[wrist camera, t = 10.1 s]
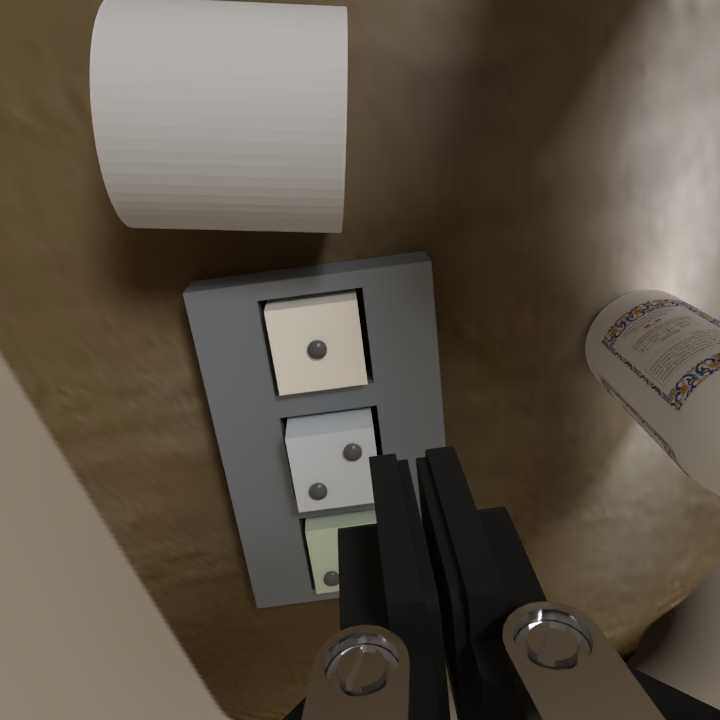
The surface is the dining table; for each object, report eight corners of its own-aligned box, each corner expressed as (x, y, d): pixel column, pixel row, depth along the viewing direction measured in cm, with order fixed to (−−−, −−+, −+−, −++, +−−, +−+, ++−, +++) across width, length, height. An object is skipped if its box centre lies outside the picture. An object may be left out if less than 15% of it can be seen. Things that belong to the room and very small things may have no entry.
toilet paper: (162, 209, 37) (107, 248, 27) (145, 10, 33) (75, -23, 23) (338, 214, 37) (343, 253, 28) (342, 19, 33) (350, -10, 24)
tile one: (354, 284, 38) (357, 300, 35) (364, 364, 40) (368, 385, 37) (268, 296, 38) (263, 312, 35) (282, 374, 40) (279, 397, 37)
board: (424, 250, 38) (431, 260, 36) (449, 558, 47) (456, 582, 45) (191, 281, 38) (182, 293, 36) (260, 583, 47) (257, 608, 45)
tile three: (381, 494, 44) (385, 523, 41) (388, 554, 46) (393, 586, 43) (306, 504, 44) (304, 533, 41) (317, 564, 46) (316, 596, 43)
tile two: (370, 404, 40) (373, 429, 37) (378, 474, 42) (383, 503, 39) (287, 415, 40) (284, 440, 37) (300, 485, 42) (298, 514, 39)
